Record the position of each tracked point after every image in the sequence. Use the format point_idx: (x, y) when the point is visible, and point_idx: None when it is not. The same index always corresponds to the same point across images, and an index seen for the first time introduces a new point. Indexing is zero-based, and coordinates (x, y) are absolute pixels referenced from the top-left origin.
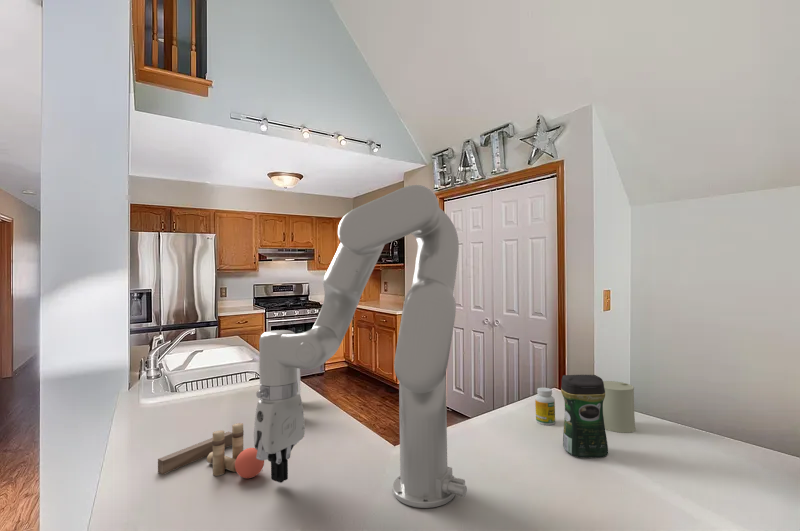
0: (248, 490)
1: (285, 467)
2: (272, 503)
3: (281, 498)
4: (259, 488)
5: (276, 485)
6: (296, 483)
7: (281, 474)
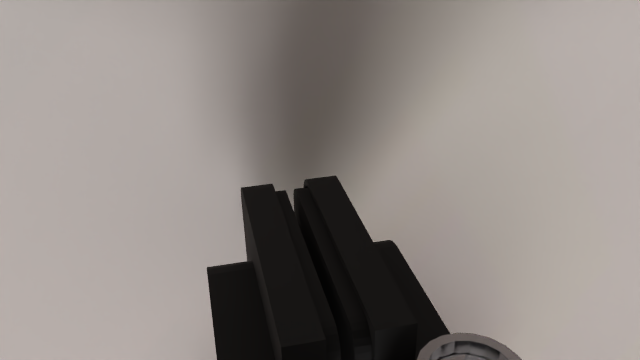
0: None
1: (303, 277)
2: (523, 19)
3: (420, 16)
4: None
5: None
6: (116, 130)
7: (359, 229)
